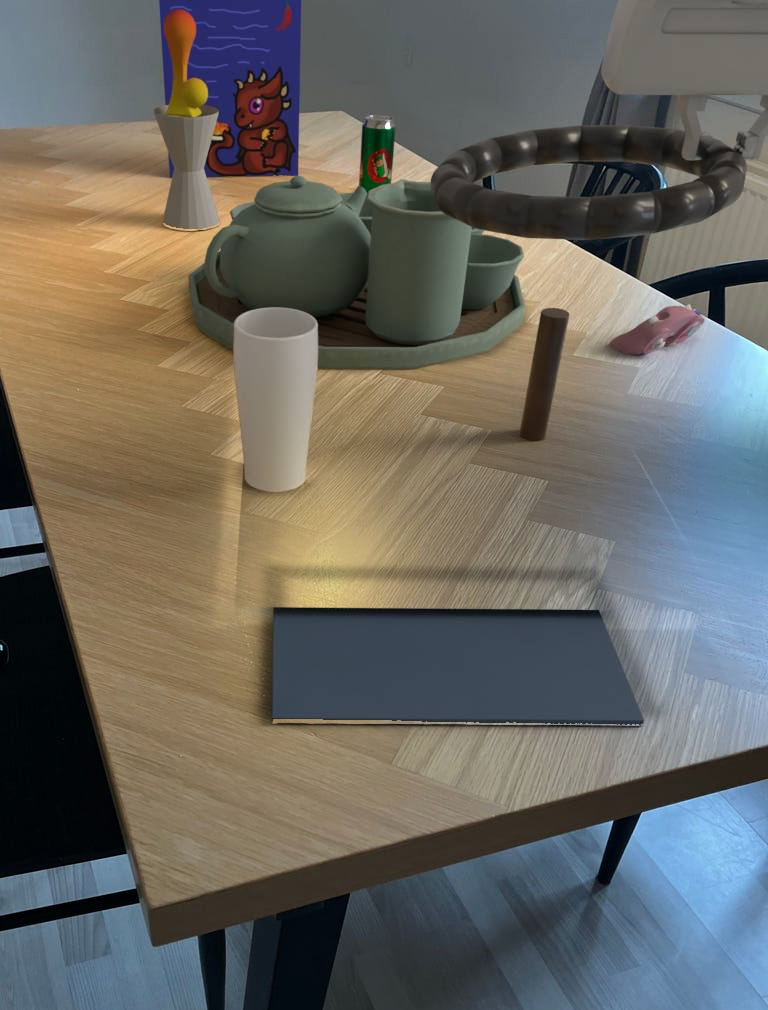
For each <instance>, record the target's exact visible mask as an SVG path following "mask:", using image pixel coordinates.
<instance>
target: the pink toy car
mask: <svg viewBox="0 0 768 1010" xmlns="http://www.w3.org/2000/svg"><path fill="white" fill-rule="evenodd" d="M705 321H706V320H705V318H704V316H702V314H701V313H700V311H698V310H697V309H696V308H692V306H691V304H690V303H689V304H687V305H685V306H682V305H670V306H666V307H663V308H662V309H661V310H659V311H658V312H657V313H656V314H655V315H653V316H651V317H649V318H647V319H645V320H644V321H642V322H640V323H639V324H638V325H637V326H636V327H635V328H632V329H630V330H629V331H627V332H625V333H623V334H620V335H618V336H615V337H614V338H613V339H612V340H611V341H610V342H609V343H608V346H609V347H611V348H612V349H614V350H615V351H618V352H621V353H623V354H626V355H631V356H639V355H642V354H644V355H648V354H651V353H652V352H655V351H656V352H657V351H660V350H662V349H663V348H664V347H666V348H669V347H671V346H674V345H675V344H680V343H682V342H684V341H685V340H687V339H688V338H690V337H692V336H693V335H694V334H695V333H696V332H697V331H698V330H699V329H700V328H701V327H702V326H703V324H704V323H705Z"/></svg>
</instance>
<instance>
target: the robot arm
mask: <svg viewBox="0 0 768 1010" xmlns="http://www.w3.org/2000/svg"><path fill="white" fill-rule="evenodd" d="M600 67H601V68H600V75H601V78H602V80H603V83H604V84H605V86H606V87H607V88H608V89H609V90H610V91H611V92H613V93H614V94H615V95H619V96H679V97H678V102H677V110H678V112H679V116H680V119H681V122H682V126H683V129H684V131H686V135H685V140H684V144H683V148H682V157H683V158H684V159H685V160H706V158H707V157H708V153H709V152H708V148H709V147H710V145H711V141H712V138H713V135H711V134H709V133H708V132H707V131H705V130H702V128H701V125H700V121H699V117H698V116H699V115H698V113H697V112H705V110H706V106H707V102H708V98H709V96H761V97H760V101H759V105H760V107H762V108H764V109H763V111H762V112H761V113H760V114H759V116H758V117H757V119H756V120H755V121H754V122H753V124H752V125H751V127H750V128H749V129H748V130H740V131H739V130H738V131H737V134H736V139H735V142H736V144H735V145H734V146H733V148H732V149H733V150H735V151H736V152H738V153H739V154H741V155H742V156H743V157H744V159H745V161H758V160H759V158H761V157H760V156H761V153H762V149H763V146H764V143H765V139H766V137H768V0H618V2H617V4H616V7H615V11H614V14H613V17H612V20H611V25H610V27H609V31H608V34H607V39H606V42H605V48H604V51H603V56H602V61H601V66H600Z"/></svg>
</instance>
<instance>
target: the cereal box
mask: <svg viewBox="0 0 768 1010" xmlns="http://www.w3.org/2000/svg"><path fill="white" fill-rule="evenodd" d="M158 4H159V5H158V7H159V21H160V38H161V54H162V72H163V89H164V104H165V105H169V102H170V99H171V95H172V87H173V63H172V59H171V54H170V49H169V46H168V43H167V40H166V37H165V33H164V22H165V19H166V17H167V15H168V14H169V13H170V12H172V11H174V10H178V9H180V10H184V11H186V12H188V13H189V14H190V15H191V16H192V17H193V19H194V21H195V24H196V35H195V38H194V41H193V44H192V47H191V50H190V54H189V59H188V63H187V80H189V79H191V78H198V79H200V80H202V81H203V82H204V83H205V84H206V86H207V89H208V98H207V101H206V102H205V104H204V105H208V106H212V107H215V108H217V109H218V110H219V113H218V117H217V121H216V125H215V129H214V132H213V136H212V140H211V143H210V147H209V151H208V154H207V158H206V162H205V166H204V171H205V174H206V177H207V178H223V177H222V176H247V177H274V176H273V175H276V176H275V177H280V176H279V175H283V176H282V177H285V176H284V175H287V176H286V177H291V176H292V177H295V176H299V155H300V154H299V151H300V150H299V148H300V99H301V98H300V96H301V94H300V93H301V92H300V91H301V89H300V88H301V41H302V40H301V39H302V38H301V36H302V33H301V32H302V0H158ZM165 105H164V106H165ZM167 152H168V151H167ZM167 154H168V157H167V159H168V172H169V173H168V174H169V178H170V179H172V176H173V172H174V166H173V163H172V161H171V158H170V155H169V152H168V153H167ZM289 175H290V176H289Z"/></svg>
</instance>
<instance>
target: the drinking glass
mask: <svg viewBox="0 0 768 1010" xmlns="http://www.w3.org/2000/svg"><path fill="white" fill-rule="evenodd" d="M232 353H233V355H232V356H233V359H232V360H233V375H234V385H235V393H236V403H237V410H238V411H237V413H238V422H239V429H240V438H241V447H242V448H241V449H242V458H243V467H244V468H243V469H244V470H243V471H244V480H245V482H246V483H247V484H248V485H249V486H250V487H252V488H254V489H257V490H259V491H263V492H271V493H272V492H273V493H282V492H289V491H291V490H294V489H297V488H299V487H300V486H302V485H303V484H304V483H305V481H306V479H307V465H308V455H309V446H310V439H311V438H310V437H311V430H312V421H313V413H314V405H315V404H314V403H315V398H316V389H317V381H318V369H319V368H318V322H317V320H316V319H315V318H314V317H313V316H311V315H310V314H308V313H306V312H303V311H300V310H296V309H290V308H281V307H269V308H260V309H255V310H251V311H248V312H245V313H243V314H241V315H240V316H238V317H237V318H236V320H235V321H234V337H233V351H232Z"/></svg>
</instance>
